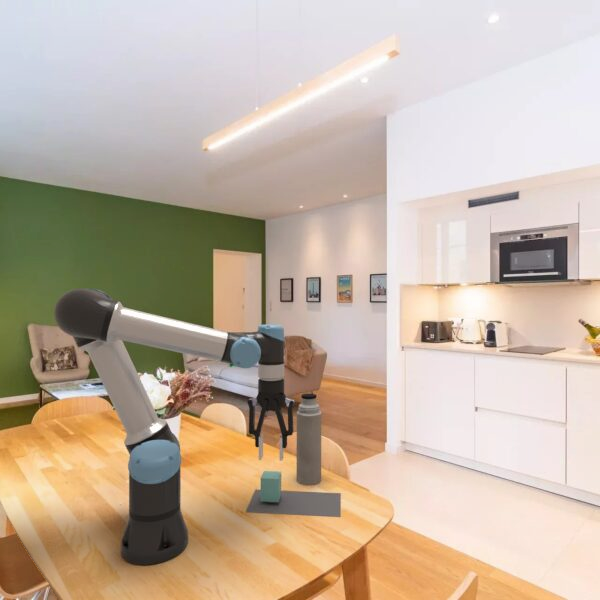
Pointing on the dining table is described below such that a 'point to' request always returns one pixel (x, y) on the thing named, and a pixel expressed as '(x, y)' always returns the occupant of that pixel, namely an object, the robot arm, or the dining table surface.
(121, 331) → the robot arm
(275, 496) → the teal rectangular block
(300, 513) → the mat
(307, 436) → the thermos bottle
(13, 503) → the dining table surface
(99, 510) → the dining table surface
